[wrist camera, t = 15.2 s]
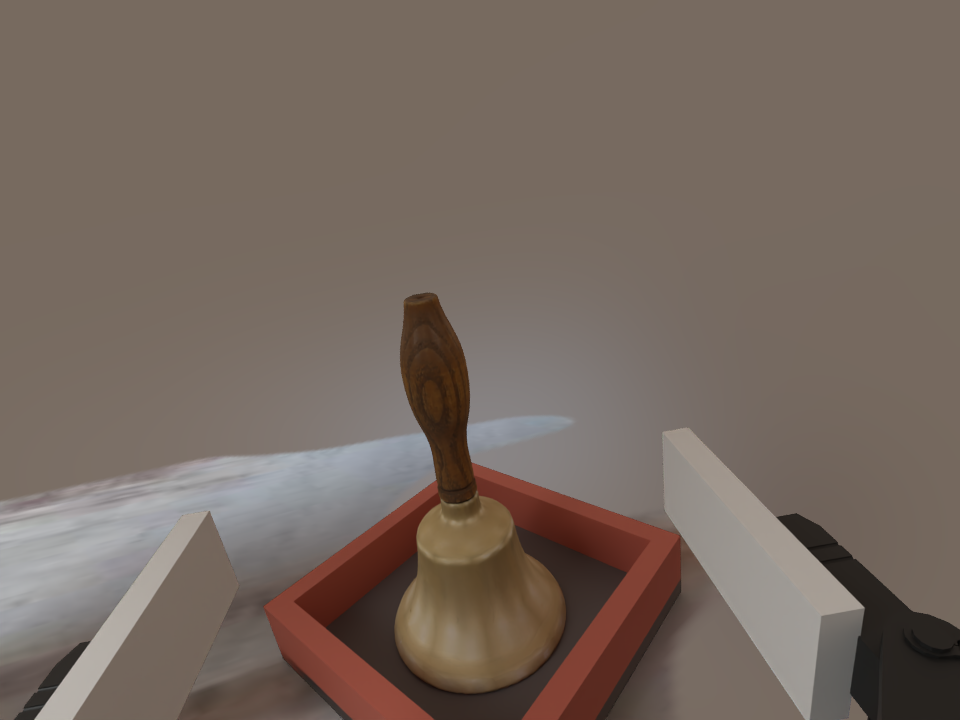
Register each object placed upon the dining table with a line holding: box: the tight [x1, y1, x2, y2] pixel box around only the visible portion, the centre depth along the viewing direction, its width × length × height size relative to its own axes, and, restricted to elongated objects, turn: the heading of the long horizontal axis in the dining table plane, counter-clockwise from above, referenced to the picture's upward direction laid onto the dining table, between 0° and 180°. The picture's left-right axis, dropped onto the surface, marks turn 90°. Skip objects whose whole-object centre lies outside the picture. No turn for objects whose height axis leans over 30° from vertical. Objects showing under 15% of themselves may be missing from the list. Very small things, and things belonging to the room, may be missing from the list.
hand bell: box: [394, 293, 566, 694], centre depth 23 cm, size 8×8×16 cm
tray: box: [263, 462, 681, 720], centre depth 25 cm, size 14×14×3 cm
